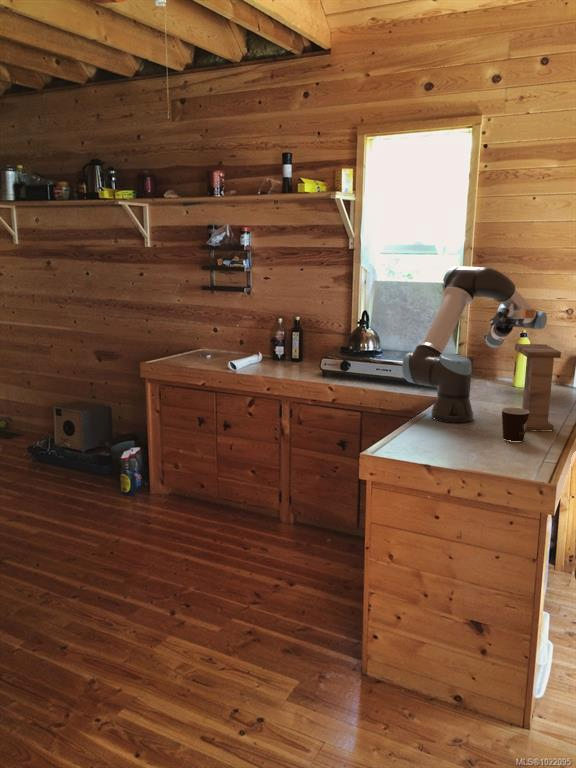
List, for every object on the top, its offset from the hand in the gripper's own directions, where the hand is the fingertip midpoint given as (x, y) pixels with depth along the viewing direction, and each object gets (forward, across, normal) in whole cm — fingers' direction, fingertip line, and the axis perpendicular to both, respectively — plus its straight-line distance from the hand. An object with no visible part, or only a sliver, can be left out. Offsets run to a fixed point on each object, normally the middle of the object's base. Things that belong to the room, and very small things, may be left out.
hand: (517, 307), depth 256 cm
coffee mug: (+23, +10, -57) cm, 63 cm away
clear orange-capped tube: (+3, 0, -6) cm, 6 cm away
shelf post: (+8, +1, -49) cm, 49 cm away
